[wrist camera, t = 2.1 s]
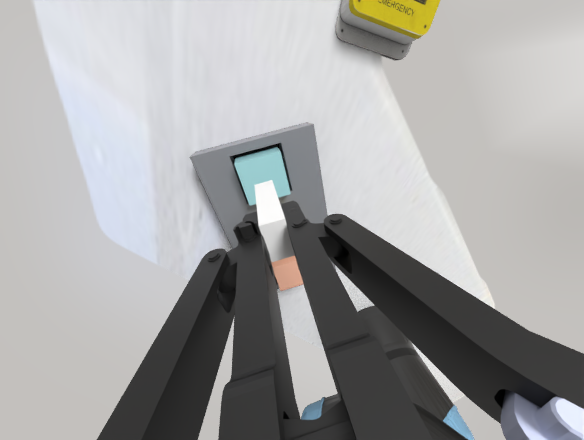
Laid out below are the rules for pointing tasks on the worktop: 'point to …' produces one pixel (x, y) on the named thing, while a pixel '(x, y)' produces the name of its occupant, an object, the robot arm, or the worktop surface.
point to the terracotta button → (287, 273)
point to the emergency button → (385, 24)
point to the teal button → (262, 172)
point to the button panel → (298, 165)
